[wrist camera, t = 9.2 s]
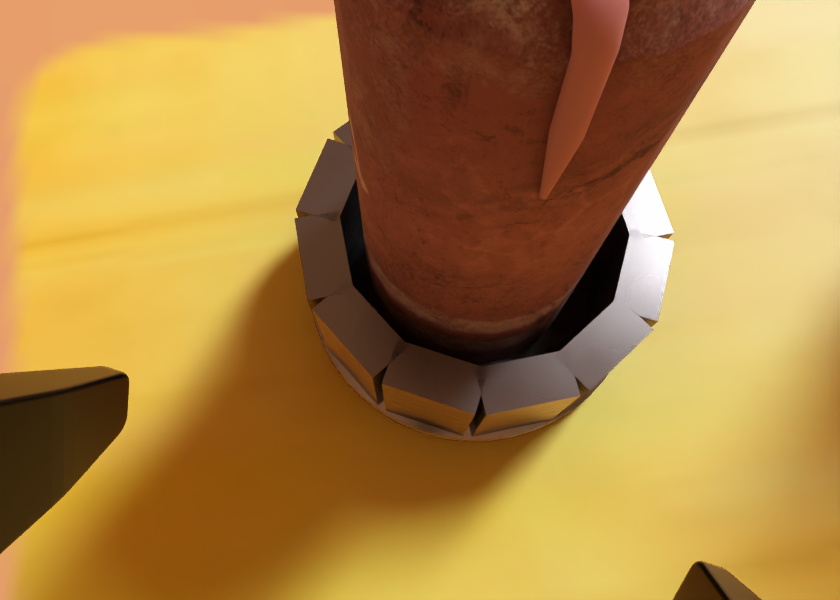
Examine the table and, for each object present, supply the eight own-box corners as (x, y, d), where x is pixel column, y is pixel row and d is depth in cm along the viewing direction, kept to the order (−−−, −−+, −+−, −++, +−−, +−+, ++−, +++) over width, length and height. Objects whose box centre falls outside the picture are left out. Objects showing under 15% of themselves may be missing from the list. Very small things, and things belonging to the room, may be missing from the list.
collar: (463, 516, 19) (478, 510, 15) (247, 267, 21) (213, 209, 17) (693, 294, 21) (755, 242, 18) (475, 96, 24) (489, 13, 20)
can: (394, 398, 19) (374, 59, 6) (354, 214, 21) (277, -318, 8) (588, 355, 20) (942, -36, 7) (529, 180, 22) (708, -362, 9)
